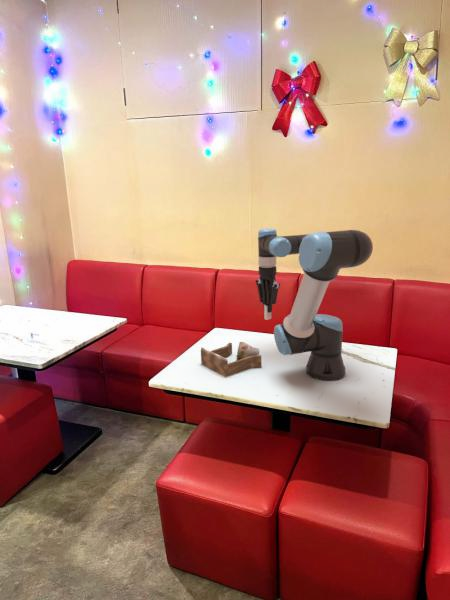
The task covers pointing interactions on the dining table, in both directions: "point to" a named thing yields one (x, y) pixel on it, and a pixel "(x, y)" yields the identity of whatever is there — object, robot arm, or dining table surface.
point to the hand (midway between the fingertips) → (267, 318)
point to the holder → (220, 364)
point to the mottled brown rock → (246, 350)
